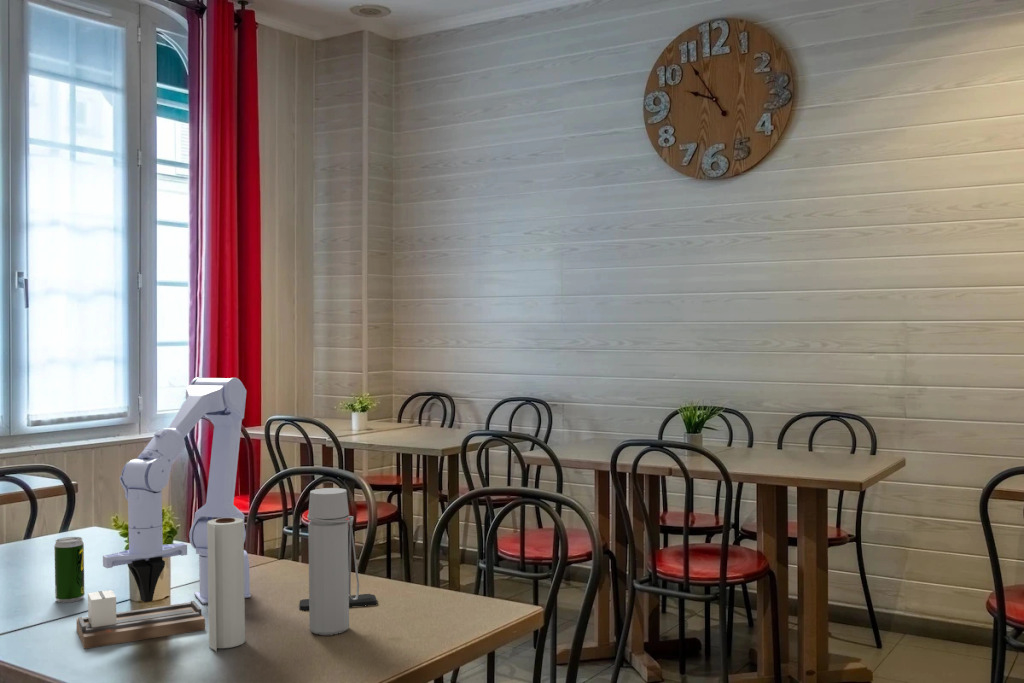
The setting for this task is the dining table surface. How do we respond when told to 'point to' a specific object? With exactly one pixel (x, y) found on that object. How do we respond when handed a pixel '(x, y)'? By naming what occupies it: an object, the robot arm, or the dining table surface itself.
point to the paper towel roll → (226, 582)
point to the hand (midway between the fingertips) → (146, 600)
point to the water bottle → (329, 561)
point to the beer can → (69, 569)
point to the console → (143, 625)
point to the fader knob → (101, 608)
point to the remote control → (361, 601)
